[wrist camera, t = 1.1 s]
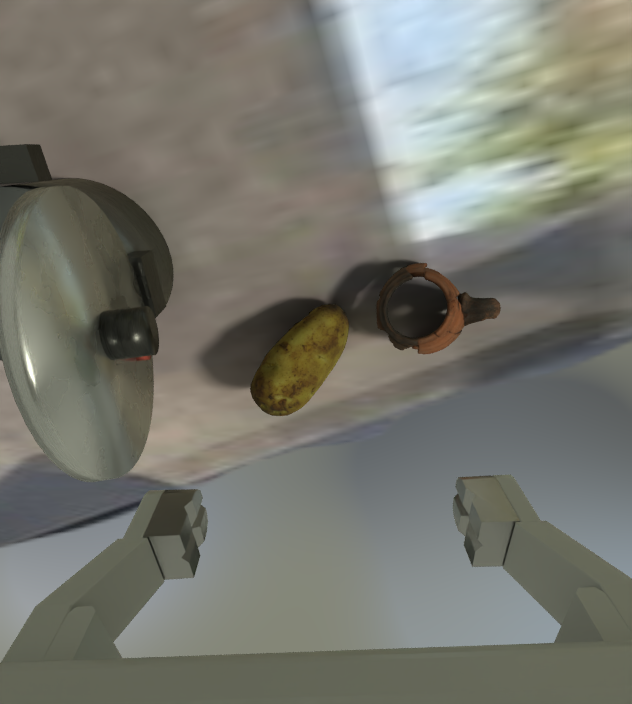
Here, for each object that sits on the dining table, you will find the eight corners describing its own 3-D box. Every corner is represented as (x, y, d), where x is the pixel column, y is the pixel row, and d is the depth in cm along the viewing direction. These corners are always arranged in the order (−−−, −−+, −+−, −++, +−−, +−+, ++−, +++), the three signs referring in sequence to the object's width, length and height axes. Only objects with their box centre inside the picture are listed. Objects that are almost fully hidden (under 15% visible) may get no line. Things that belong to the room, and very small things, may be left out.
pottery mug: (391, 355, 46) (377, 363, 38) (379, 277, 46) (363, 268, 38) (501, 341, 42) (511, 346, 34) (488, 254, 41) (495, 239, 34)
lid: (-86, 209, 12) (34, 200, 12) (94, 177, 27) (145, 174, 27) (92, 551, 20) (161, 539, 20) (154, 379, 34) (193, 374, 35)
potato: (369, 347, 45) (380, 384, 38) (277, 394, 48) (271, 437, 41) (334, 288, 41) (338, 318, 34) (237, 344, 44) (223, 381, 37)
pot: (-29, 152, 35) (-142, 154, 26) (159, 140, 35) (108, 138, 26) (57, 355, 45) (-4, 405, 36) (204, 348, 45) (178, 396, 36)
